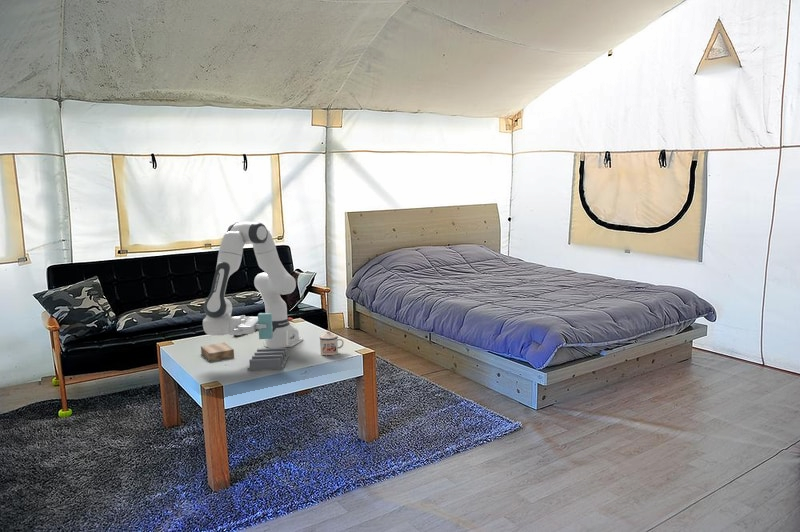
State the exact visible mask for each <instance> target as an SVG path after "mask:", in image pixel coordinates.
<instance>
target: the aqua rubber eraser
mask: <svg viewBox="0 0 800 532" xmlns="http://www.w3.org/2000/svg"><path fill="white" fill-rule="evenodd" d="M257 317H258V324H267V327H266V328H261V329H258V339H259V340H265V339H272V338H273V330H272V313H266V312H259V313H258V314H257Z"/></svg>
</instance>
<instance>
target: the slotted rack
mask: <svg viewBox="0 0 800 532" xmlns="http://www.w3.org/2000/svg"><path fill="white" fill-rule="evenodd" d="M288 356H289V353H288V354H287V347H283V348H268V347H262V348H257V349H256V351H255V352H254V355H252V356H251V359H249V362H248V363H249V365H248V367H247V371H248V370H249V371H271V370H270V369H277V370H283V369H284V367H285V365H286V363H287V361H288V359H289V357H288ZM287 358H288V359H287ZM286 360H287V361H286ZM285 362H286V363H285ZM284 364H285V365H284ZM283 366H284V367H283Z"/></svg>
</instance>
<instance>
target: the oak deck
mask: <svg viewBox="0 0 800 532" xmlns="http://www.w3.org/2000/svg"><path fill="white" fill-rule="evenodd" d="M200 353H201V355H202V357H204V358H205V359H206V358H207V361H208V362H215V360H216V361H221V360H227V359H231V358H235V351H234V348H232V347H231V346H230V345H229V344H227V343H226V342H220V343H214V344H207V345H201V346H200Z"/></svg>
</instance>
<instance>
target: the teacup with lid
mask: <svg viewBox="0 0 800 532" xmlns="http://www.w3.org/2000/svg"><path fill="white" fill-rule="evenodd" d="M338 341H341V342H342V343H341V345H340V346H338V344H339V343H338ZM344 342H345V341H344V339H342V338H339V337H338V335H337V334H335V333H332V332H331V331H330V330H327V331H326V332H325V333H324V334H321V335H320V336H319V346H320V348H319V349H320V356H323V355H326V356H325V357H328V356H327V355H333V356H336V355H338V353H339V349H342V348H343V346H344ZM335 354H336V355H335Z"/></svg>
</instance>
